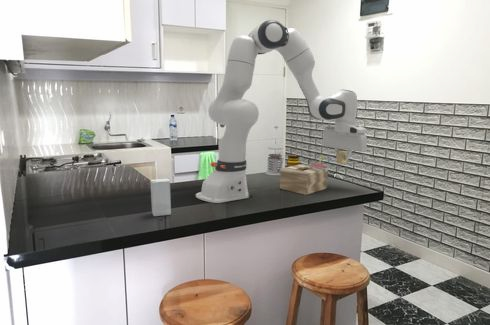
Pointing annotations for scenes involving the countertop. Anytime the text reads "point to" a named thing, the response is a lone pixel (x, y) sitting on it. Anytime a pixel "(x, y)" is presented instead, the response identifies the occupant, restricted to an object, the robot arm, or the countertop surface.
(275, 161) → the french press
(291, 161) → the condiment
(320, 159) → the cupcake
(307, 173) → the box
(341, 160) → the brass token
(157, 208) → the skincare box
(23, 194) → the countertop surface
